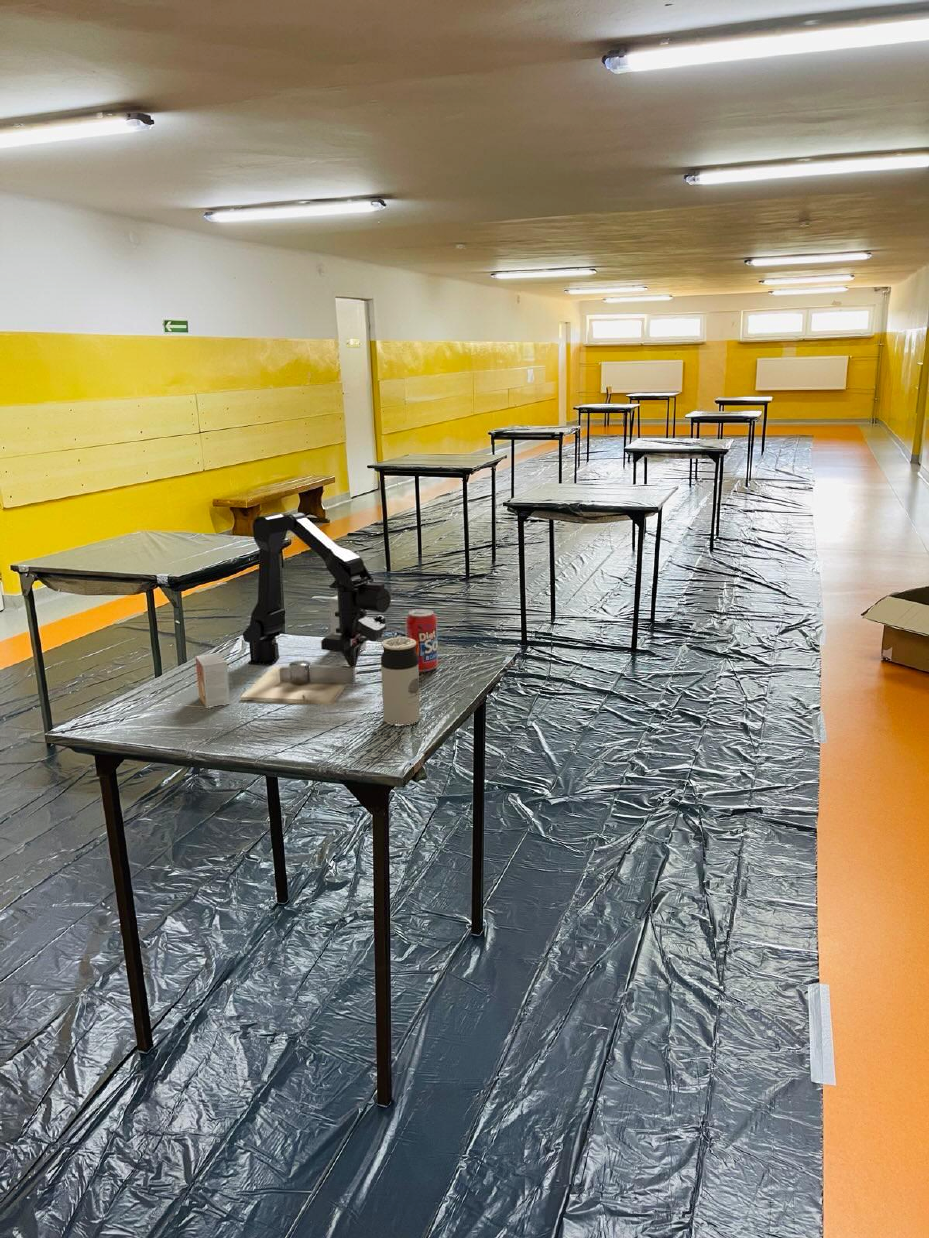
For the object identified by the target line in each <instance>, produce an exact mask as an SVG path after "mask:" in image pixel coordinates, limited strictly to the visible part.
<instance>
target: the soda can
mask: <svg viewBox="0 0 929 1238" xmlns="http://www.w3.org/2000/svg"><path fill="white" fill-rule="evenodd" d="M405 638H411V639H414V640H415V641H416V645H415V652H416V653H417V655H418V672H419V673H425V672H426V671H427V672H429V671H432V670H434V669H436V668H437V667H438V665H439V664H438V663H439V659H438V657H439V654H438V653H439V650H438V618H437V616H436V615H435V612H434V610H431V609H427V608H419V609H412V610H409V611H408V615H407V616H406V618H405ZM427 672H426V673H427Z"/></svg>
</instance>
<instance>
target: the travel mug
mask: <svg viewBox="0 0 929 1238" xmlns="http://www.w3.org/2000/svg"><path fill="white" fill-rule="evenodd" d="M415 645H416V641H415V640H414V639H411V638H406V636H405V637H403V636H402V637H397V636H396V637H392V638H387V639H385V640H383V641H382V642H381V646H382V648H383V652H382V654H381V656H380V663H381V667H380V670H381V692H382V693H381V694H382V712H383V713H382V714H383V718H382V719H383V722H384V721H385V722H388V723H391V724H404V725H405V724H406V725H407V724H412V723H414V724H416V723H418V722H419V721H420V720H421V714H420V713H421V711H420V682H419V680H420V679H419V678H420V677H419V675H420V672H418V655H417V653H416V652H415ZM419 719H420V720H419ZM385 722H384V723H385ZM415 722H416V723H415ZM412 725H413V724H412Z"/></svg>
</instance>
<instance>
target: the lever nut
mask: <svg viewBox="0 0 929 1238" xmlns="http://www.w3.org/2000/svg"><path fill="white" fill-rule="evenodd" d="M288 666H289V667H290V668H281V669H280V670H279V672H280V681H284V682H291V683H292V684H296V685H302V684H307V683H309V682H310V683H333V684H348V685H355V684H356V681H357V680H356V679H357V678H356V675H355V669H356V667H355V666H349V665H329V664H327V665H326V664H311V662H310V661H308V660H295V661H292V662H290V663H289V665H288Z"/></svg>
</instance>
